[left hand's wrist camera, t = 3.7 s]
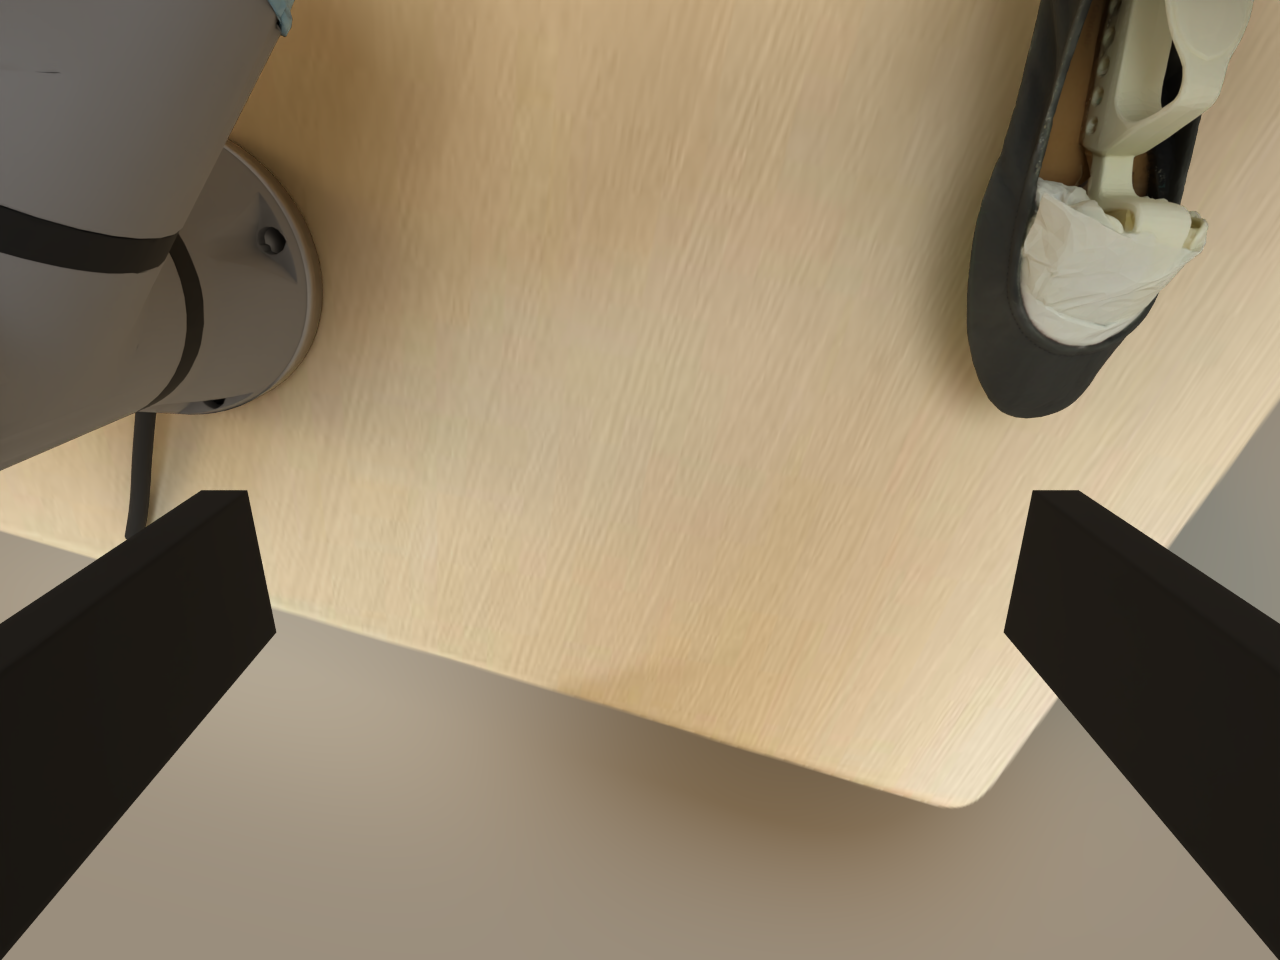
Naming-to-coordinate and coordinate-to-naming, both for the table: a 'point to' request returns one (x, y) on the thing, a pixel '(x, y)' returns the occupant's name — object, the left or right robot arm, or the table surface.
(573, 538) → the table surface
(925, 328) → the table surface
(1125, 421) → the table surface
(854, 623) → the table surface
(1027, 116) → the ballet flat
